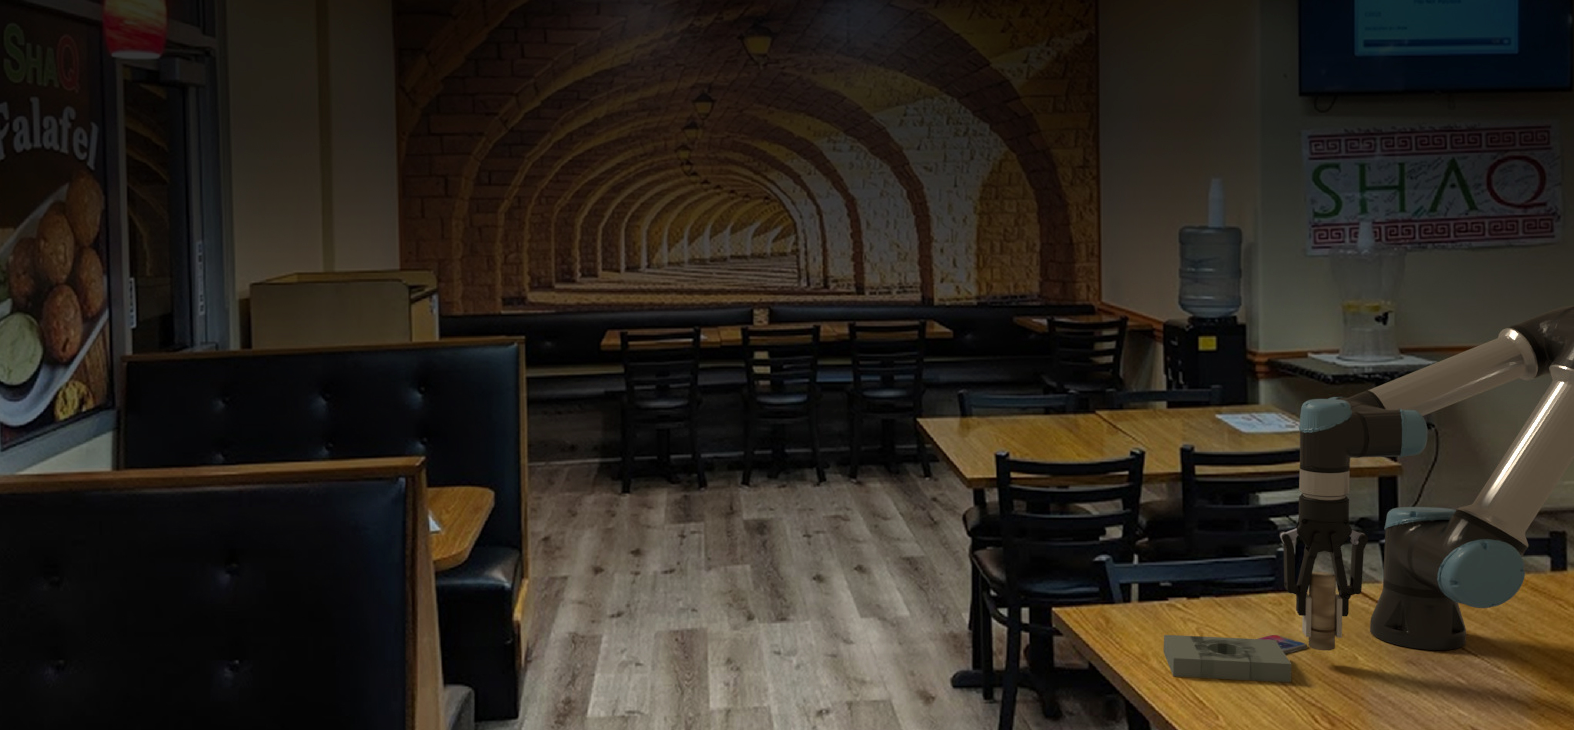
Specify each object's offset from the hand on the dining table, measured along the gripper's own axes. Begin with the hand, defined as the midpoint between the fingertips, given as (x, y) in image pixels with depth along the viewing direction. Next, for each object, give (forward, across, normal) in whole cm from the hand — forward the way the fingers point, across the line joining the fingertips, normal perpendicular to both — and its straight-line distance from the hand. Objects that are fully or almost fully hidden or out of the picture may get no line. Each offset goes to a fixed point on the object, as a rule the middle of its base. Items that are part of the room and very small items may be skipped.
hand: (1321, 634), depth 209 cm
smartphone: (+6, +8, -7) cm, 12 cm away
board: (+5, +16, +3) cm, 17 cm away
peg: (+2, 0, 0) cm, 2 cm away
